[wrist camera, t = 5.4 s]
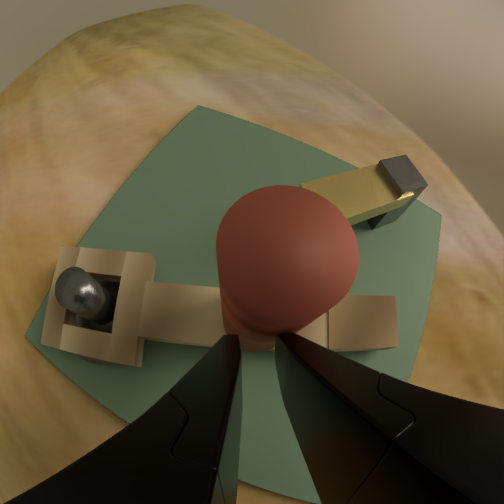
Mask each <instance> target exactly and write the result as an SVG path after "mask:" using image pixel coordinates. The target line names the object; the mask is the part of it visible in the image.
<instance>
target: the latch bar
mask: <svg viewBox="0 0 504 504" xmlns="http://www.w3.org/2000/svg"><path fill="white" fill-rule="evenodd" d="M216 256H217V267H218V278H219V287H207V286H195V285H184V284H173V283H163V282H153V278H154V272H155V266H156V261H155V259H154V257H153V256H152V254H151V253H142V252H130V251H118V250H107V249H96V248H84V247H73V246H63V245H62V247H61V251H60V254H59V258H58V261H57V265H56V269H55V273H54V277H53V281H52V285H51V289H50V294H49V299H48V303H47V308H46V314H45V319H44V325H43V331H42V338H41V344H43V345H46V346H50V347H53V348H56V349H60V350H64V351H67V352H71V353H75V354H79V355H83V356H87V357H91V358H96V359H100V360H105V361H110V362H114V363H119V364H125V365H130V366H136V367H142V359H143V349H144V340H145V339H147V340H154V341H161V342H169V343H177V344H186V345H195V346H205V347H212V346H213V345H214V344H215V343H216V342H217V341H218V340H219V339H220V338H221V337H222V336H223V335H225V334H237V335H238V336H239V342H240V347H241V349H243V350H247V351H251V352H264V351H275V338H276V335H277V334H280V333H289V332H294V333H296V334H298V335H300V336H302V337H304V338H306V339H308V340H310V341H313V342H315V343H317V344H319V345H321V346H323V347H325V348H327V349H330V350H332V351H334V352H347V351H373V350H388V349H392V348H396V347H399V342H398V323H397V310H396V298H395V296H375V295H346V294H347V293H348V292H349V290H350V289H351V287H352V285H353V283H354V281H355V278H356V276H357V272H358V268H359V248H358V242H357V239H356V236H355V233H354V231H353V229H352V227H351V225H350V223H349V222H348V220H347V219H346V217H345V216H344V215H343V213H342V212H341V211H340V210H339V209H338V208H337V207H336V206H335V205H334V204H332V203H331V202H330V201H329V200H327V199H326V198H324V197H323V196H321V195H319V194H317V193H315V192H313V191H310V190H307V189H304V188H300V187H296V186H289V185H274V186H267V187H263V188H260V189H256V190H254V191H252V192H249V193H248V194H246V195H244V196H243V197H241V198H240V199H239V200H237V201H236V202H235V203H234V204H233V205H232V206H231V207H230V208H229V209H228V211H227V212H226V214H225V215H224V217H223V219H222V221H221V223H220V225H219V228H218V232H217V237H216ZM69 267H80V268H82V269H83V270H85V271H86V272H87V273H88V274H89V275H90V276H91V277H93V278H94V279H96V280H104V281H112V282H120V286H119V291H118V297H117V303H116V308H115V315H114V321H113V328H112V334H111V333H106V332H101V331H95V330H90V329H85V328H81V327H76V326H74V324H75V318H76V314H75V313H73V312H72V311H70V310H68V309H66V308H64V307H62V306H61V305H60V304H59V303H58V301H57V299H56V297H55V284H56V281H57V279H58V277H59V275H60V274H61V273H62V272H63V271H64V270H65V269H67V268H69Z"/></svg>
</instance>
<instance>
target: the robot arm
mask: <svg viewBox="0 0 504 504" xmlns="http://www.w3.org/2000/svg"><path fill="white" fill-rule="evenodd" d="M275 365H276V370H277V375H278V380H279V385H280V391H281V395H282V400H283V403H284V406H285V409H286V412H287V414H288V417H289V420H290V422H291V425H292V428H293V430H294V433H295V436H296V439H297V441H298V444H299V446H300V449H301V452H302V454H303V457H304V460H305V462H306V465H307V468H308V470H309V473H310V475H311V478H312V481H313V483H314V486H315V488H316V491H317V493H318V496H319V498H320V501H321V503H322V504H504V409H499V408H495V407H491V406H487V405H482V404H478V403H474V402H471V401H467V400H463V399H459V398H456V397H452V396H448V395H445V394H441V393H438V392H434V391H431V390H428V389H425V388H422V387H419V386H415V385H412V384H410V383H407V382H404V381H402V380H399V379H397V378H394V377H392V376H389V375H387V374H385V373H380V372H379V371H376V370H374V369H372V368H370V367H367V366H365V365H363V364H360V363H358V362H356V361H354V360H351V359H349V358H347V357H345V356H343V355H340V354H338V353H336V352H334V351H332V350H330V349H327V348H325V347H323V346H321V345H319V344H317V343H315V342H313V341H310V340H308V339H306V338H304V337H302V336H300V335H298V334H296V333H294V332H289V333H280V334H277V335H276V338H275ZM242 410H243V396H242V356H241V347H240V342H239V336H238V335H237V334H225V335H223V336H222V337H221V338H220V339H219V340H218V341H217V342H216V343H215V344H214V345H213V346H212V347H211V348H210V349H209V350H208V351H207V353H206V354H205V355H204V356H203V357H202V358H201V359H200V360H199V361H198V362H197V363H196V364H195V365H194V366H193V367H192V368H191V369H190V370H189V371H188V372H187V373H186V374H185V375H184V376H183V377H182V378H181V379H180V380H179V381H178V382H177V383H176V384H175V385H174V386H173V387H172V388H171V389H170V390H169V391H168V392H167V393H165V394H164V395H163V396H162V397H161V398H160V399H159V400H158V401H157V402H156V403H155V404H153V405H152V406H151V407H150V408H149V409H148V410H147V411H146V412H145V413H143V414H142V415H141V416H139V417H138V418H137V419H136V420H134V421H133V422H132V423H130V424H129V425H128V426H126V427H125V428H124V429H122V430H121V431H119V432H118V433H117V434H115V435H114V436H112V437H111V438H109V439H108V440H107V441H105V442H104V443H102V444H101V445H99V446H98V447H96V448H95V449H93V450H92V451H90V452H89V453H87V454H86V455H84V456H83V457H81V458H80V459H78V460H77V461H75V462H74V463H72V464H70V465H69V466H67V467H66V468H64V469H62V470H61V471H59V472H58V473H56V474H54V475H53V476H51V477H50V478H48V479H46V480H45V481H43V482H41V483H40V484H38V485H36V486H34V487H33V488H31V489H29V490H27V491H26V492H24V493H22V494H20V495H19V496H17V497H15V498H13V499H11V500H9V501H7V502H6V503H4V504H236V497H237V482H238V468H239V454H240V439H241V424H242Z"/></svg>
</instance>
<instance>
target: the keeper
mask: <svg viewBox="0 0 504 504" xmlns="http://www.w3.org/2000/svg"><path fill="white" fill-rule="evenodd" d="M427 185H428V184H427V183H426V181H425V180H424V178H423V177H422V176H421V174H420V173H419V172H418V170H417V169H416V167H415V166H414V165H413V163H412V162H411V161H410V160H409V158H408V157H407V156H406V155H402V156H398V157H393V158H388V159H384V160H380V161H379V163H378V164H376V165H371V166H367V167H363V168H359V169H355V170H351V171H347V172H343V173H339V174H335V175H331V176H327V177H324V178H320V179H316V180H312V181H309V182H305V183H301V184H300V186H299V187H300V188H304V189H307V190H310V191H313V192H315V193H317V194H319V195H321V196H323V197H324V198H326V199H327V200H329V201H330V202H331V203H332V204H334V205H335V206H336V207H337V208H338V209H339V210H340V211H341V212H342V213H343V215H344V216H345V217H346V219H347V220H348V222H349V223H350V225H354V224H356V223H359V222H362V221H364V220H366V221H367V222H368V224H369V225H370V227H371V229H372V230H375V229H377V228H380V227H382V226H384V225H387V224H389V223H392V222H394V221H396V220H397V219H398V218H399V217H400V216H401V215H402V214H403V213H404V212H405V211H406V209H407V208H408V207H409V206H410V205H411V204H412V203H413V202H414V200H415V199H416V198H417V197H418V196H419V195H420V194H421V192H422V191H423V190H424V189H425V188H426V187H427Z"/></svg>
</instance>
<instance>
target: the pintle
mask: <svg viewBox="0 0 504 504" xmlns="http://www.w3.org/2000/svg"><path fill="white" fill-rule="evenodd" d="M119 286H120V282H112V281H104V280H96V279H94V278H93V277H91V276H90V275H89V274H88V273H87V272H86V271H85V270H83V269H82V268H80V267H69V268H67V269H65V270H64V271H63V272H62V273H61V274H60V275H59V277H58V279H57V281H56V284H55V297H56V299H57V301H58V303H59V304H60V305H61V306H62V307H64V308H66V309H68V310H70V311H72V312H73V313H75V314H76V318H75V324H74V326H76V327H81V328H85V329H90V330H95V331H101V332H106V333H111V334H112V328H113V321H114V315H115V308H116V303H117V297H118V291H119ZM146 342H147V339H145V340H144V345H145V343H146ZM77 355H78V356H79V357H81V358H82V359H84V360H86V361H89V362H92V363H96V364H102V365H110V364H117V363H114V362H110V361H105V360H100V359H96V358H91V357H87V356H83V355H79V354H77Z"/></svg>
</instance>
